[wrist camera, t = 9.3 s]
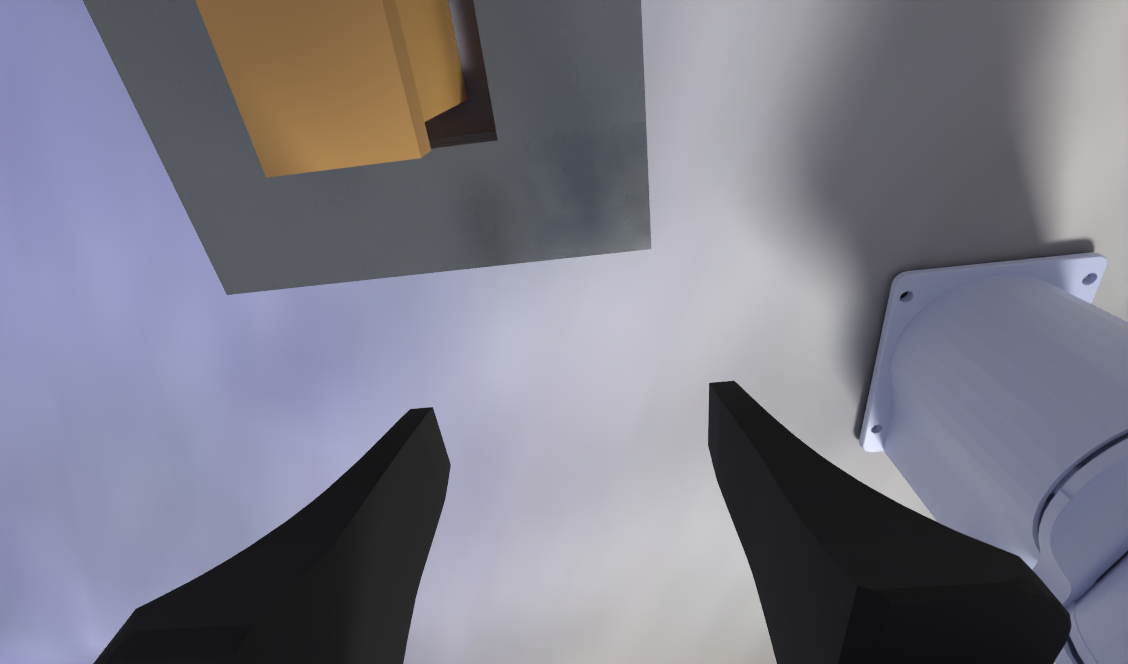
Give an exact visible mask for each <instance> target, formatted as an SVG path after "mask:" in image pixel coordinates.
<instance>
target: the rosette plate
mask: <svg viewBox="0 0 1128 664" xmlns="http://www.w3.org/2000/svg"><path fill="white" fill-rule="evenodd" d="M83 1H84V3H85V6H86V8H87V10H88V12H89V14H90V16H91V18H92V20H93V22H94V24H95V26H96V28H97V30H98V32H99V34H100V36H101V38H102V40H103V42H104V44H105V46H106V48H107V50H108V53H109V55H110V57H111V59H112V61H113V63H114V65H115V67H116V69H117V71H118V73H119V75H120V77H121V79H122V81H123V83H124V85H125V87H126V89H127V91H128V93H129V95H130V97H131V100H132V102H133V104H134V106H135V108H136V110H137V112H138V114H139V116H140V118H141V120H142V122H143V124H144V126H145V128H146V130H147V132H148V134H149V136H150V138H151V140H152V142H153V144H154V147H155V149H156V151H157V153H158V155H159V157H160V159H161V161H162V163H163V165H164V167H165V169H166V171H167V173H168V175H169V177H170V179H171V181H172V183H173V185H174V187H175V189H176V191H177V194H178V196H179V198H180V200H181V202H182V204H183V206H184V208H185V210H186V212H187V214H188V216H189V218H190V220H191V222H192V224H193V226H194V228H195V230H196V232H197V234H198V236H199V238H200V241H201V243H202V245H203V247H204V249H205V251H206V253H207V255H208V257H209V259H210V261H211V263H212V265H213V267H214V269H215V271H216V273H217V275H218V277H219V279H220V281H221V283H222V285H223V288H224V290H225V292H226V294H227V295H231V294H240V293H249V292H258V291H267V290H277V289H286V288H295V287H304V286H314V285H323V284H332V283H341V282H350V281H360V280H369V279H378V278H387V277H397V276H406V275H415V274H424V273H433V272H443V271H452V270H461V269H470V268H479V267H489V266H498V265H507V264H516V263H526V262H535V261H544V260H553V259H562V258H572V257H581V256H590V255H599V254H609V253H618V252H627V251H636V250H645V249H651V232H650V208H649V184H648V160H647V136H646V112H645V88H644V64H643V40H642V16H641V0H473V3H474V8H475V14H476V20H477V25H478V31H479V37H480V42H481V48H482V54H483V59H484V65H485V71H486V76H487V82H488V88H489V93H490V99H491V105H492V110H493V116H494V122H495V127H496V131H488V132H480V133H472V134H465V135H457V136H449V137H441V138H434V139H429V143H430V147H431V151H430V152H429V153H427V154H426V155H425V156H423V157H422V158H418V159H410V160H402V161H394V162H386V163H378V164H370V165H362V166H355V167H347V168H339V169H331V170H323V171H315V172H307V173H299V174H292V175H284V176H276V177H268V178H266V176H265V173H264V171H263V168H262V166H261V163H260V161H259V158H258V156H257V153H256V151H255V148H254V146H253V143H252V141H251V138H250V136H249V133H248V131H247V128H246V126H245V123H244V121H243V118H242V116H241V113H240V111H239V108H238V106H237V103H236V101H235V98H234V96H233V93H232V91H231V88H230V86H229V83H228V81H227V78H226V76H225V73H224V71H223V68H222V66H221V63H220V61H219V58H218V56H217V53H216V51H215V48H214V46H213V43H212V41H211V38H210V36H209V33H208V31H207V28H206V26H205V23H204V21H203V18H202V16H201V13H200V11H199V8H198V6H197V3H196V1H195V0H83Z"/></svg>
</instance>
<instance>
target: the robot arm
mask: <svg viewBox="0 0 1128 664" xmlns="http://www.w3.org/2000/svg"><path fill="white" fill-rule="evenodd" d="M1107 263H1108V260H1107V258H1106V257H1105V256H1103V255H1101V254H1098V253H1092V252H1091V253H1081V254H1071V255H1061V256H1051V257H1042V258H1032V259H1022V260H1012V261H1002V262H992V263H982V264H972V265H963V266H953V267H943V268H933V269H923V270H913V271H906V272H902V273H900V274H899V275H897V276H896V277H895V278H894V279H893V282H892V285H891V290H890V294H889V299H888V304H887V309H886V314H885V319H884V323H883V328H882V333H881V338H880V343H879V348H878V352H877V357H876V362H875V367H874V372H873V377H872V381H871V386H870V391H869V396H868V401H867V406H866V410H865V415H864V420H863V425H862V430H861V435H860V440H859V444H860V446H861V447H862V448H863V450H864V451H866V452H880V451H884V452H885V453H886V454H887V456H888V457H889V458H890V460H891V461H892V462H893V464H894V465H895V466H896V468H897V469H898V470H899V472H900V473H901V474H902V476H903V477H904V478H905V480H906V481H907V482H908V484H909V485H910V486H911V487H912V489H913V490H914V491H915V493H916V494H917V495H918V497H919V498H920V499H921V501H922V502H923V503H924V505H925V506H926V507H927V509H928V510H929V511H930V513H931V514H932V515H933V517H934V518H935V519H936V520H937V522H936V521H934V520H932V519H929V518H927V517H925V516H923V515H921V514H919V513H917V512H915V511H913V510H911V509H909V508H907V507H905V506H903V505H901V504H899V503H897V502H895V501H894V500H892V499H890V498H888V497H886V496H885V495H883V494H881V493H879V492H877V491H876V490H874V489H872V488H870V487H869V486H867V485H865V484H863V483H862V482H860V481H858V480H857V479H855V478H854V477H852V476H851V475H849V474H847V473H846V472H844V471H843V470H841V469H840V468H838V467H837V466H835V465H834V464H832V463H831V462H829V461H828V460H826V459H825V458H823V457H822V456H821V455H819V454H818V453H816V452H815V451H814V450H813V449H811V448H810V447H809V446H807V445H806V444H805V443H803V442H802V441H801V440H800V439H798V438H797V437H796V436H795V435H793V434H792V433H791V432H790V431H789V430H788V429H786V428H785V427H784V426H783V425H782V424H780V423H779V422H778V421H777V420H776V419H775V418H774V417H772V416H771V415H770V414H769V413H768V412H767V411H766V410H765V409H764V408H763V407H761V406H760V405H759V404H758V403H757V402H756V401H755V400H754V399H753V398H752V397H751V396H750V395H749V394H748V393H747V392H746V391H745V390H743V389H742V388H741V387H740V386H739V385H738V384H737V383H736V382H735V381H727V382H715V383H709V428H708V446H709V450H710V454H711V458H712V463H713V467H714V470H715V474H716V478H717V481H718V484H719V487H720V489H721V492H722V495H723V497H724V500H725V503H726V505H727V508H728V510H729V513H730V515H731V518H732V521H733V523H734V526H735V528H736V531H737V533H738V536H739V539H740V541H741V544H742V546H743V549H744V551H745V554H746V557H747V559H748V562H749V565H750V568H751V571H752V574H753V577H754V580H755V584H756V587H757V591H758V594H759V598H760V602H761V605H762V609H763V612H764V616H765V620H766V623H767V627H768V631H769V635H770V639H771V642H772V646H773V650H774V654H775V658H776V661H777V664H1053V663H1054V662H1056V664H1128V322H1126V321H1124V320H1122V319H1120V318H1118V317H1116V316H1114V315H1112V314H1110V313H1108V312H1106V311H1104V310H1102V309H1100V308H1098V307H1096V306H1094V305H1092V304H1091V303H1092V300H1093V298H1094V295H1095V293H1096V291H1097V288H1098V286H1099V284H1100V281H1101V279H1102V277H1103V274H1104V272H1105V269H1106V267H1107ZM1086 275H1088V276H1087V277H1086V278H1085V279H1083V278H1084V277H1085V276H1086ZM907 291H908V293H907V295H906V296H905V297H904V298H901V299H900V296H901V295H902V294H903V293H904V292H907ZM875 425H877V426H876V427H874V426H875ZM872 427H874V428H872ZM450 466H451V465H450V461H449V458H448V455H447V452H446V448H445V445H444V442H443V439H442V435H441V432H440V429H439V426H438V423H437V419H436V416H435V413H434V410H433V407H430V408H419V409H410V410H409V411H408V412H407V413H406V414H405V415H404V416H403V417H402V418H401V419H400V420H399V421H398V422H397V423H396V424H395V425H394V426H393V427H392V428H391V429H390V430H389V431H388V432H387V433H386V434H385V435H384V436H383V437H382V438H381V439H380V440H379V441H378V442H377V443H376V444H375V445H374V446H373V447H372V448H371V449H370V450H369V451H368V452H367V453H366V454H365V455H364V456H363V457H362V458H361V459H360V460H359V461H358V462H357V463H355V464H354V465H353V466H352V467H351V468H350V469H349V470H348V471H347V472H346V473H344V474H343V475H342V476H341V477H340V478H339V479H338V480H337V481H336V482H335V483H333V484H332V485H331V486H330V487H329V488H328V489H327V490H326V491H324V492H323V493H322V494H321V495H320V496H318V497H317V498H316V499H315V500H313V501H312V502H311V503H310V504H308V505H307V506H306V507H305V508H303V509H302V510H301V511H299V512H298V513H297V514H295V515H294V516H293V517H291V518H290V519H289V520H287V521H286V522H285V523H283V524H282V525H280V526H279V527H277V528H276V529H274V530H273V531H271V532H270V533H269V534H267V535H266V536H264V537H263V538H261V539H260V540H258V541H257V542H255V543H254V544H252V545H251V546H249V547H248V548H246V549H245V550H243V551H241V552H240V553H238V554H237V555H235V556H233V557H232V558H230V559H228V560H227V561H225V562H223V563H222V564H220V565H218V566H216V567H215V568H213V569H211V570H210V571H208V572H206V573H204V574H203V575H201V576H199V577H197V578H195V579H194V580H192V581H190V582H188V583H186V584H184V585H182V586H180V587H178V588H176V589H174V590H172V591H171V592H169V593H167V594H165V595H163V596H161V597H159V598H157V599H155V600H153V601H151V602H149V603H147V604H145V605H143V606H141V607H139V608H137V609H135V611H134V612H133V613H132V615H131V616H130V617H129V618H128V620H127V621H126V622H125V624H124V625H123V626H122V627H121V629H120V630H119V631H118V633H117V634H116V635H115V636H114V638H113V639H112V640H111V642H110V643H109V644H108V645H107V647H106V648H105V649H104V651H103V652H102V653H101V654H100V656H99V657H98V658H97V660H96V661H95V662H94V663H93V664H403V661H404V656H405V650H406V645H407V639H408V634H409V629H410V624H411V619H412V614H413V609H414V604H415V599H416V595H417V591H418V587H419V583H420V580H421V576H422V573H423V570H424V567H425V563H426V560H427V557H428V554H429V551H430V547H431V544H432V541H433V538H434V535H435V531H436V528H437V525H438V522H439V518H440V515H441V512H442V508H443V505H444V501H445V497H446V491H447V485H448V479H449V472H450Z"/></svg>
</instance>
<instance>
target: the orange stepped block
mask: <svg viewBox="0 0 1128 664" xmlns="http://www.w3.org/2000/svg"><path fill="white" fill-rule="evenodd" d="M195 1H196V3H197V6H198V8H199V11H200V13H201V16H202V18H203V21H204V23H205V26H206V28H207V31H208V33H209V36H210V38H211V41H212V43H213V46H214V48H215V51H216V53H217V56H218V58H219V61H220V63H221V66H222V68H223V71H224V73H225V76H226V78H227V81H228V83H229V86H230V88H231V91H232V93H233V96H234V98H235V101H236V103H237V106H238V108H239V111H240V113H241V116H242V118H243V121H244V123H245V126H246V128H247V131H248V133H249V136H250V138H251V141H252V143H253V146H254V148H255V151H256V153H257V156H258V158H259V161H260V163H261V166H262V168H263V171H264V173H265V176H266V178H268V177H276V176H284V175H292V174H299V173H307V172H315V171H323V170H331V169H339V168H347V167H355V166H362V165H370V164H378V163H386V162H394V161H402V160H410V159H418V158H422V157H423V156H425V155H426V154H427V153H429V152H430V151H431V147H430V143H429V139H428V135H427V131H426V126H425V122H426V121H427V120H429V119H431V118H433V117H435V116H437V115H439V114H441V113H443V112H445V111H447V110H449V109H451V108H452V107H454V106H456V105H458V104H460V103H462V102H464V101H466V100H468V99H467V94H466V88H465V83H464V78H463V73H462V68H461V63H460V58H459V53H458V48H457V43H456V38H455V33H454V27H453V22H452V17H451V12H450V7H449V2H448V0H195Z"/></svg>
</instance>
